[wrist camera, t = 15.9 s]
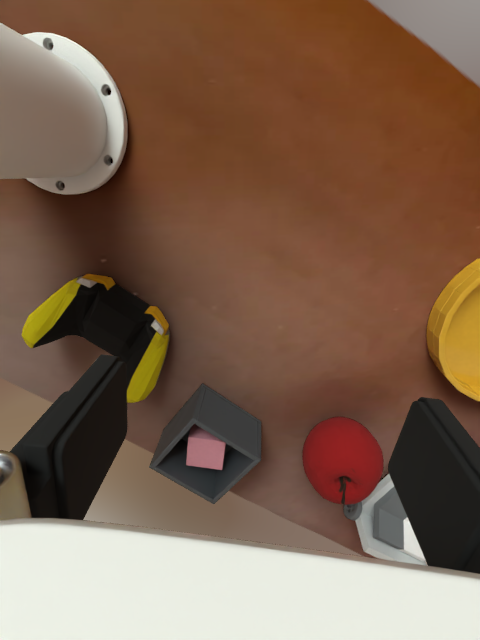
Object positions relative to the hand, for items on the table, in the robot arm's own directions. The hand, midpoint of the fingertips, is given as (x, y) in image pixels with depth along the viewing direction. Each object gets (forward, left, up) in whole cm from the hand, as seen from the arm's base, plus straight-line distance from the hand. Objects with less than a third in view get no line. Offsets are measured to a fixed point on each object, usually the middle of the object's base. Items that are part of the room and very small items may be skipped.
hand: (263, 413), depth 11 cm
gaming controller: (-8, -17, -26) cm, 32 cm away
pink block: (+9, -22, -26) cm, 35 cm away
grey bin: (+9, -22, -26) cm, 35 cm away
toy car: (+36, -12, -26) cm, 46 cm away
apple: (+22, -13, -26) cm, 37 cm away
